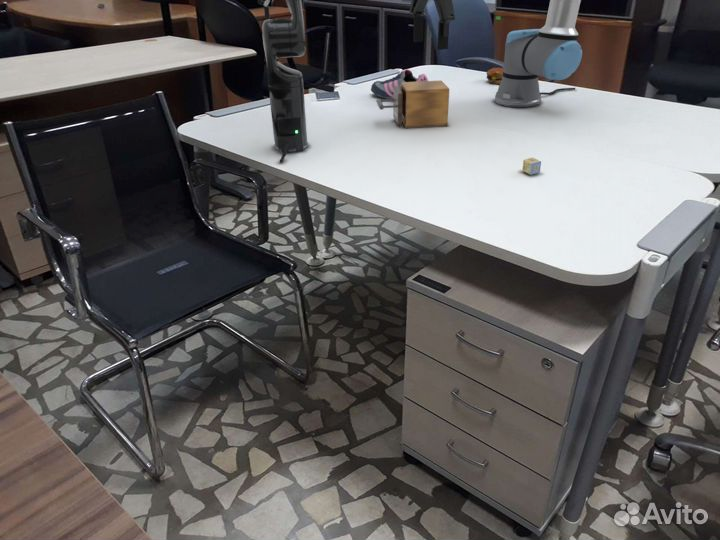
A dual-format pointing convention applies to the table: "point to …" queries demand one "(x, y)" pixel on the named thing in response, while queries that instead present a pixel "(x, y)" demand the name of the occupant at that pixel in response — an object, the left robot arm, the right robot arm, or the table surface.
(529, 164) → the alphabet block
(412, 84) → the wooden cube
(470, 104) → the table surface
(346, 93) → the table surface
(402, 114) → the drawer
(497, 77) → the burger
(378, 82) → the running shoe
